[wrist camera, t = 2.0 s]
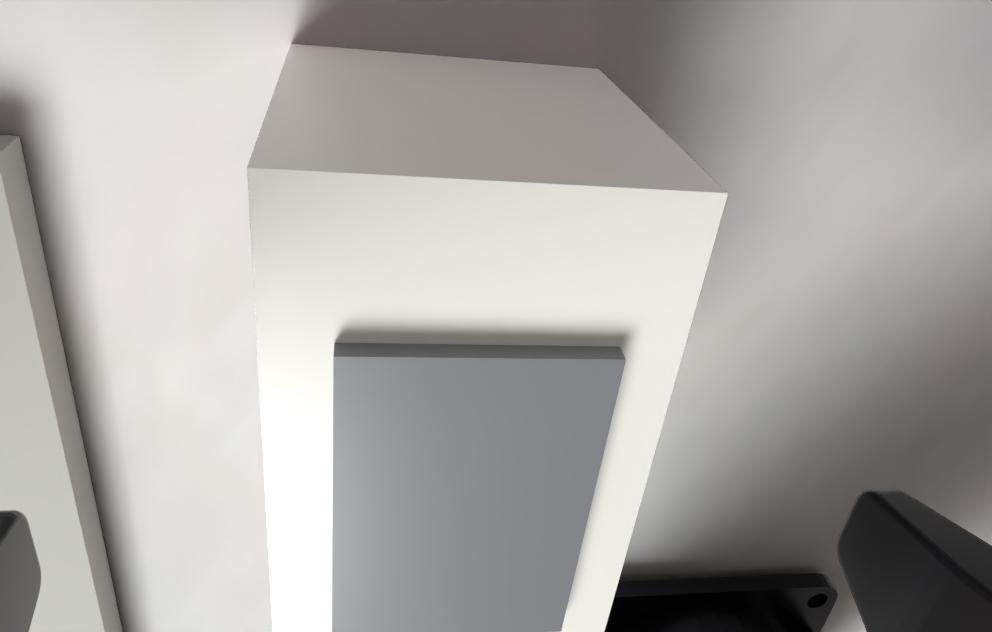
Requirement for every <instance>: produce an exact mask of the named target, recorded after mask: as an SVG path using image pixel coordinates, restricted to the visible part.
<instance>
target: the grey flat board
mask: <svg viewBox="0 0 992 632" xmlns="http://www.w3.org/2000/svg"><path fill="white" fill-rule="evenodd" d="M5 510H16V511H20V512H22V513H23V514H24V515H25V516H26V518H27V521H28V523H29V527H30V530H31V534H32V538H33V541H34V545H35V549H36V552H37V556H38V560H39V563H40V568H41V587H40V592H39V596H38V600H37V604H36V608H35V611H34V615H33V619H32V622H31V626H30V630H29V632H123V631H122V626H121V621H120V616H119V612H118V607H117V602H116V597H115V592H114V588H113V583H112V578H111V573H110V569H109V564H108V559H107V554H106V549H105V545H104V540H103V535H102V530H101V525H100V521H99V516H98V511H97V506H96V501H95V497H94V492H93V487H92V482H91V477H90V473H89V468H88V463H87V458H86V453H85V449H84V444H83V439H82V434H81V429H80V425H79V420H78V415H77V410H76V405H75V401H74V396H73V391H72V386H71V381H70V377H69V372H68V367H67V362H66V358H65V353H64V348H63V343H62V338H61V334H60V329H59V324H58V319H57V314H56V310H55V305H54V300H53V295H52V290H51V286H50V281H49V276H48V271H47V266H46V262H45V257H44V252H43V247H42V242H41V238H40V233H39V228H38V223H37V218H36V214H35V209H34V204H33V199H32V194H31V190H30V185H29V180H28V175H27V170H26V166H25V161H24V156H23V151H22V147H21V142H20V137H19V136H11V135H0V511H5Z"/></svg>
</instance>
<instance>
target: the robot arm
mask: <svg viewBox="0 0 992 632" xmlns="http://www.w3.org/2000/svg"><path fill="white" fill-rule="evenodd" d="M837 552H838V557H839V561H840V563H841V566H842V569H843V571H844V574H845V576H846V579H847V581H848V584H849V587H850V589H851V592H852V594H853V597H854V600H855V602H856V605H857V607H858V610H859V612H860V615H861V618H862V620H863V623H864V625H865V628H866V631H867V632H992V546H991V545H989V544H988V543H986V542H985V541H983V540H981V539H980V538H978V537H976V536H975V535H973V534H971V533H970V532H968V531H966V530H965V529H963V528H962V527H960V526H958V525H957V524H955V523H953V522H952V521H950V520H948V519H947V518H945V517H944V516H942V515H940V514H939V513H937V512H935V511H934V510H932V509H930V508H929V507H927V506H926V505H924V504H922V503H921V502H919V501H917V500H916V499H914V498H912V497H911V496H909V495H907V494H906V493H904V492H902V491H900V490H896V489H869V490H865V491H863V492H862V493H861V494H859V495H858V497H857V499H856V501H855V503H854V505H853V507H852V509H851V511H850V513H849V516H848V518H847V520H846V522H845V524H844V526H843V528H842V531H841V533H840V535H839V538H838V542H837ZM40 587H41V568H40V563H39V560H38V556H37V552H36V549H35V545H34V541H33V538H32V534H31V530H30V527H29V523H28V521H27V518H26V516H25V515H24V514H23V513H22V512H20V511H16V510H5V511H0V632H29V630H30V626H31V622H32V619H33V615H34V611H35V608H36V604H37V600H38V596H39V592H40ZM836 599H837V592H836V590H835V588H834V587H833V585H832V584H831V582H830V581H829V579H828V577H827V576H825V575H823V574H818V573H812V574H790V575H769V576H748V577H726V578H705V579H684V580H662V581H641V582H620V583H618V585H617V589H616V592H615V596H614V599H613V603H612V607H611V610H610V614H609V617H608V621H607V624H606V628H605V631H604V632H820V631H821V629H822V627H823V625H824V623H825V621H826V619H827V617H828V615H829V613H830V611H831V609H832V607H833V605H834V603H835V601H836Z"/></svg>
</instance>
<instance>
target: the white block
mask: <svg viewBox="0 0 992 632" xmlns="http://www.w3.org/2000/svg"><path fill="white" fill-rule="evenodd" d="M247 176H248V194H249V213H250V231H251V249H252V267H253V285H254V303H255V322H256V340H257V358H258V376H259V394H260V412H261V431H262V449H263V467H264V485H265V503H266V521H267V540H268V558H269V576H270V594H271V612H272V630H273V632H604V631H605V628H606V624H607V621H608V617H609V614H610V610H611V607H612V603H613V599H614V596H615V592H616V589H617V585H618V582H619V578H620V575H621V571H622V568H623V564H624V561H625V557H626V553H627V550H628V546H629V543H630V539H631V536H632V532H633V529H634V525H635V522H636V518H637V515H638V511H639V507H640V504H641V500H642V497H643V493H644V490H645V486H646V483H647V479H648V476H649V472H650V469H651V465H652V461H653V458H654V454H655V451H656V447H657V444H658V440H659V437H660V433H661V430H662V426H663V423H664V419H665V415H666V412H667V408H668V405H669V401H670V398H671V394H672V391H673V387H674V384H675V380H676V377H677V373H678V369H679V366H680V362H681V359H682V355H683V352H684V348H685V345H686V341H687V338H688V334H689V331H690V327H691V323H692V320H693V316H694V313H695V309H696V306H697V302H698V299H699V295H700V292H701V288H702V285H703V281H704V277H705V274H706V270H707V267H708V263H709V260H710V256H711V253H712V249H713V246H714V242H715V239H716V235H717V231H718V228H719V224H720V221H721V217H722V214H723V210H724V207H725V203H726V200H727V196H728V192H726V191H725V190H724V189H723V188H722V187H721V186H720V185H719V184H718V183H717V182H716V181H715V180H714V179H713V178H712V177H711V176H710V175H709V174H708V173H707V172H706V171H705V170H704V169H703V168H701V167H700V166H699V165H698V164H697V163H696V162H695V161H694V160H693V159H692V158H691V157H690V156H689V155H688V154H687V153H686V152H685V151H684V150H683V149H682V148H681V147H680V146H679V145H678V144H676V143H675V142H674V141H673V140H672V139H671V138H670V137H669V136H668V135H667V134H666V133H665V132H664V131H663V130H662V129H661V128H660V127H659V126H658V125H657V124H656V123H655V122H654V121H653V120H651V119H650V118H649V117H648V116H647V115H646V114H645V113H644V112H643V111H642V110H641V109H640V108H639V107H638V106H637V105H636V104H635V103H634V102H633V101H632V100H631V99H630V98H629V97H627V96H626V95H625V94H624V93H623V92H622V91H621V90H620V89H619V88H618V87H617V86H616V85H615V84H614V83H613V82H612V81H611V80H610V79H609V78H608V77H607V76H606V75H605V74H604V73H602V72H601V71H600V70H599V69H595V68H583V67H571V66H559V65H546V64H534V63H522V62H510V61H497V60H485V59H473V58H461V57H448V56H436V55H424V54H412V53H399V52H387V51H375V50H363V49H350V48H338V47H326V46H314V45H301V44H291V46H290V48H289V51H288V54H287V57H286V60H285V62H284V65H283V68H282V71H281V74H280V76H279V79H278V82H277V85H276V88H275V91H274V93H273V96H272V99H271V102H270V105H269V107H268V110H267V113H266V116H265V119H264V121H263V124H262V127H261V130H260V133H259V136H258V138H257V141H256V144H255V147H254V150H253V152H252V155H251V158H250V161H249V164H248V166H247Z"/></svg>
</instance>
